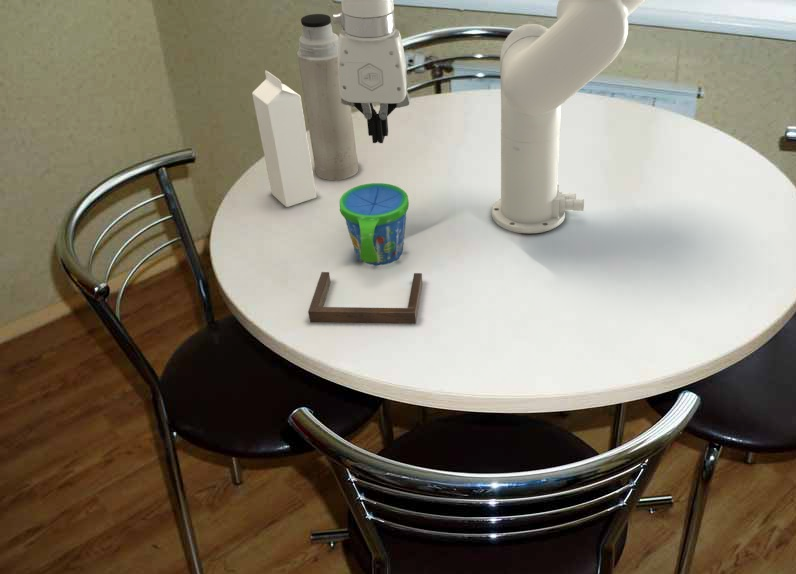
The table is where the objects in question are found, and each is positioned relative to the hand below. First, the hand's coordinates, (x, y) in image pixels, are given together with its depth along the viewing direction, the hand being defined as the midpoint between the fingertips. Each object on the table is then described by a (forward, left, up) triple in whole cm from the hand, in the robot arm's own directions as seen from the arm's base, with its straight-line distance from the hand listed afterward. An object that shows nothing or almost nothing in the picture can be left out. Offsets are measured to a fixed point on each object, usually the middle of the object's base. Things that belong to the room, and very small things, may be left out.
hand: (378, 139), depth 135 cm
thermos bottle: (+12, -17, -15) cm, 25 cm away
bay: (0, +25, -14) cm, 29 cm away
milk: (+18, -7, -15) cm, 24 cm away
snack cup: (0, +12, -15) cm, 19 cm away
